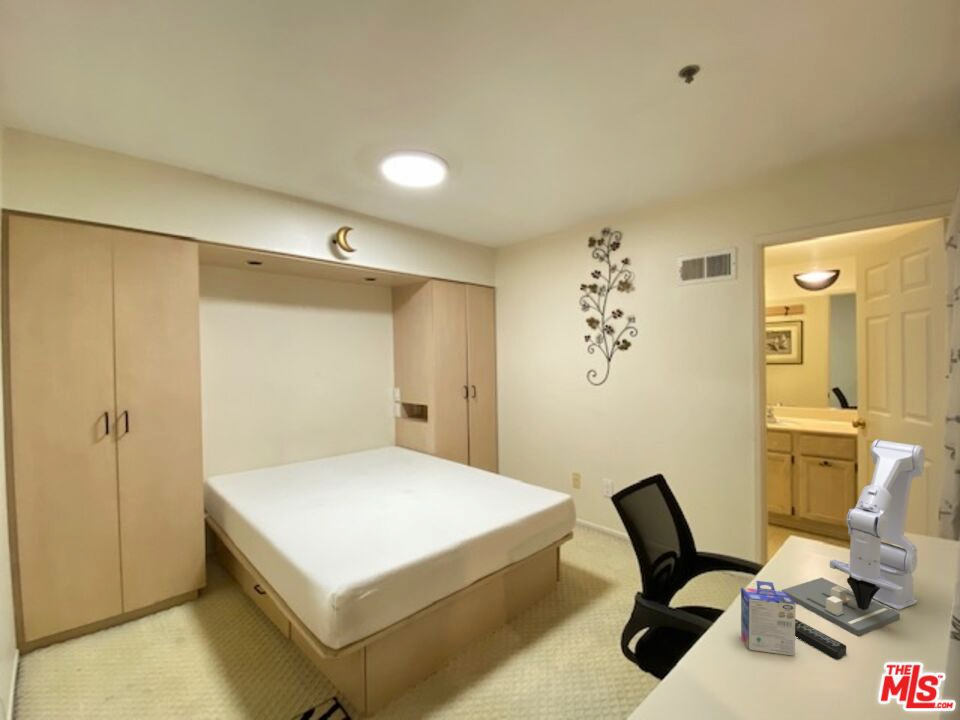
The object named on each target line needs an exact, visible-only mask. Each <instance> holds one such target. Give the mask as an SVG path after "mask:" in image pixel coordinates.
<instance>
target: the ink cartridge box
mask: <svg viewBox="0 0 960 720" xmlns="http://www.w3.org/2000/svg"><path fill="white" fill-rule="evenodd" d="M761 586H768V587H770V589H769V588H761ZM796 605H797V603H795V602H794V601H793V600H792V599H791V598H790V597H789V596H788V595H787V594H786V593H785V592H783V591H782V590H776V588H775V586H774V583H773V582H769V581H763V580H756V588H749V587H748V588H747V587H741V588H740V610H741V612H740V619H741V620H740V637H741V639H742V641H743V643H744V645H745V646H746V648H747V649H748V650H750V651H756V652H763V653H764V652H765V653H772V654H779V655H785V656H786V655H787V656H792V657H793V656H795V655H796V653H795V652H796V637H795V619H796Z"/></svg>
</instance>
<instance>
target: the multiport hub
mask: <svg viewBox="0 0 960 720" xmlns="http://www.w3.org/2000/svg"><path fill="white" fill-rule="evenodd" d="M795 636H796V637H798V638H799V639H798V638H797V639H798V640H800V639H801V640H800V641H802V642H803V641H804V643H805V642H806V644H807V643H808V644H807V645H808V646H811V647H812V646H813V649H816V650H818V651H819V652H821V653H823V654H826V655H827V656H829V657H831V658H832V659H834V660H837V661H839V660H840V659H842V658H844V657H845V656H846V655H847V645H846V644H844V643H842V642H841V641H839V640H837V639H835V638H833V637H831V636H829V635H827V634H825V633H823V632H821V631H820V630H817V628H814V627H812V626H810V625H809V624H807V623H804V622H802V621H800V620H798V619H796V618H795ZM796 637H795V638H796Z"/></svg>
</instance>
